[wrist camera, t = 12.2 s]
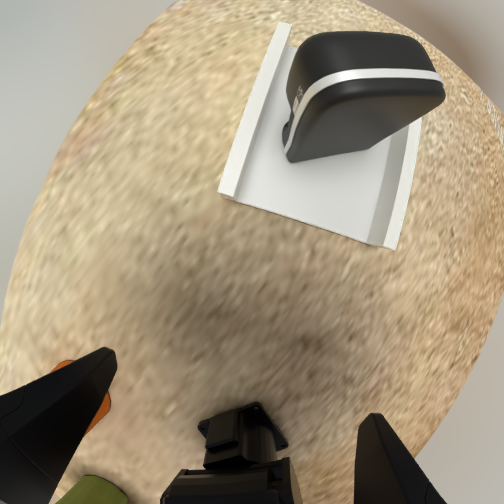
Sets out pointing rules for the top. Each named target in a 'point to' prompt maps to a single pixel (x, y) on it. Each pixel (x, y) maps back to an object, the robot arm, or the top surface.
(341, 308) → the top surface
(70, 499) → the plant pot
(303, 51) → the battery charger
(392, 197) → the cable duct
